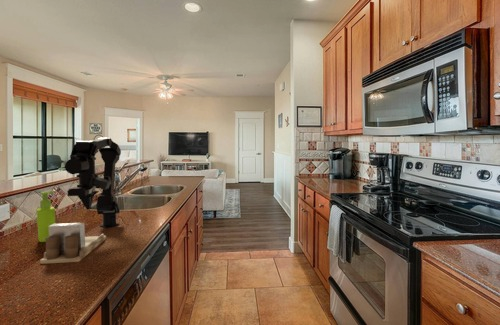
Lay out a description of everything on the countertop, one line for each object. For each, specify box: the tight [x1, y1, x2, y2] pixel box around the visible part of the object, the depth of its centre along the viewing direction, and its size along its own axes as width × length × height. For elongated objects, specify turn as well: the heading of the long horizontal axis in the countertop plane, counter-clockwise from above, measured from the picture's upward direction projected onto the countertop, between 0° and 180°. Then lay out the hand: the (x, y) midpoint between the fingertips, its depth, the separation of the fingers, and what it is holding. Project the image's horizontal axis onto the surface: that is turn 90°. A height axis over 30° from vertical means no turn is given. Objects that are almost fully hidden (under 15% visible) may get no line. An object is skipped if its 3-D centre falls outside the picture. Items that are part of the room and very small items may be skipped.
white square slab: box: [49, 222, 86, 254], centre depth 92 cm, size 3×10×10 cm, turn 97°
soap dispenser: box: [36, 190, 57, 243], centre depth 108 cm, size 6×7×20 cm
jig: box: [39, 233, 107, 265], centre depth 98 cm, size 22×12×8 cm, turn 7°
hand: (88, 209), depth 107 cm, fingers closed
